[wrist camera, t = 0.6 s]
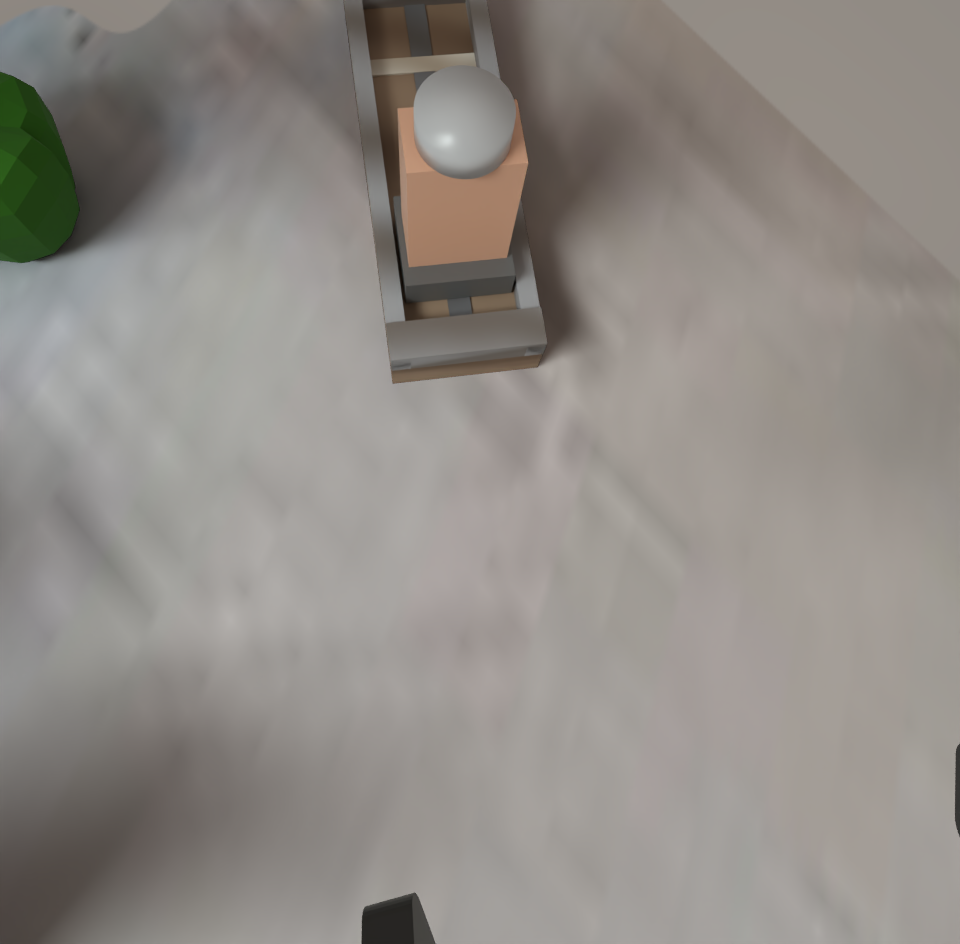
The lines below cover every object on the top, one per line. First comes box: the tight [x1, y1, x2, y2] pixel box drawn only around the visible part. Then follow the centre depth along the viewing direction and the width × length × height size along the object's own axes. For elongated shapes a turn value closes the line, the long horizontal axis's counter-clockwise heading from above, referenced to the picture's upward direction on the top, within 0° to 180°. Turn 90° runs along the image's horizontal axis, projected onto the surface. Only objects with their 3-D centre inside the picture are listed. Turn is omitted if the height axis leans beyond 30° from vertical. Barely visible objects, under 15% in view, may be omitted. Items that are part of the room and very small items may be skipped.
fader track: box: [343, 0, 547, 383], centre depth 44 cm, size 24×8×4 cm, turn 8°
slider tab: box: [393, 65, 528, 303], centre depth 36 cm, size 5×6×12 cm
